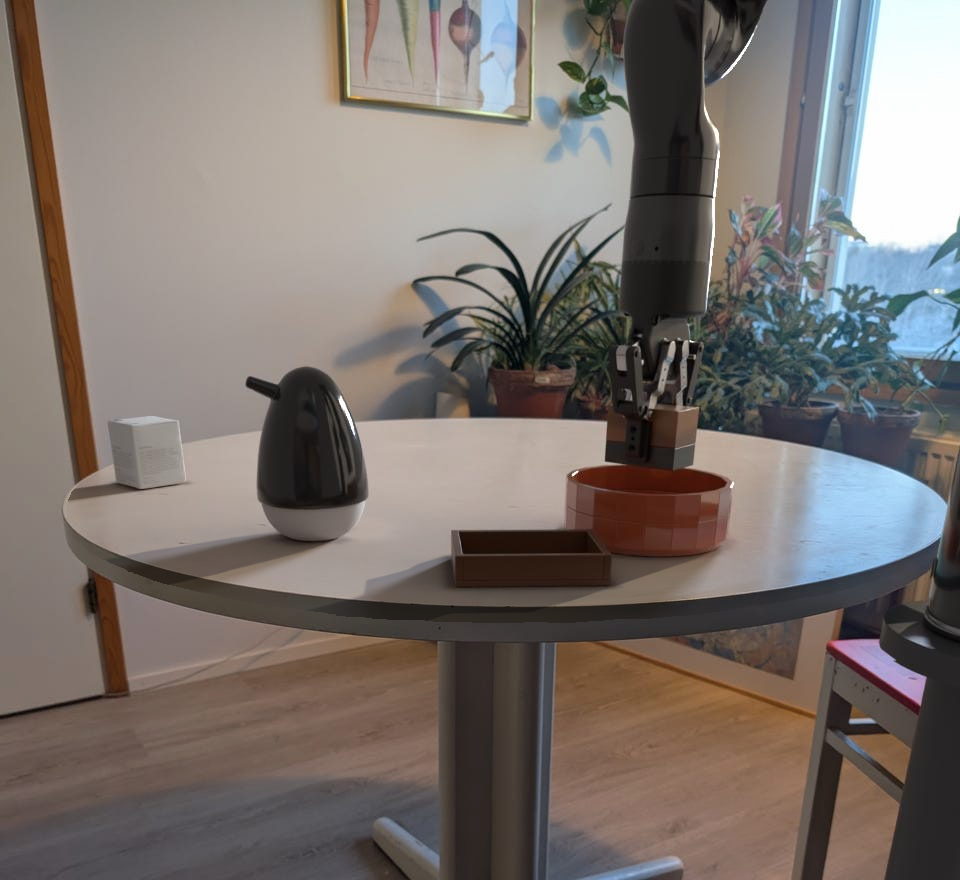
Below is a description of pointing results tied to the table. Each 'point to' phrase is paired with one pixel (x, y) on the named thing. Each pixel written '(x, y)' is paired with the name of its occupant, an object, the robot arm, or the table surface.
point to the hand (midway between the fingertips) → (649, 458)
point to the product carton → (147, 451)
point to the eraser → (657, 437)
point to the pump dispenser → (309, 457)
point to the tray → (529, 558)
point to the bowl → (650, 508)
